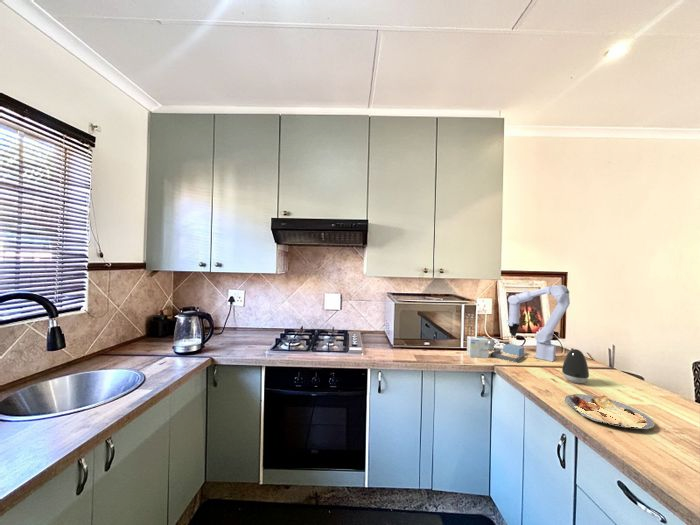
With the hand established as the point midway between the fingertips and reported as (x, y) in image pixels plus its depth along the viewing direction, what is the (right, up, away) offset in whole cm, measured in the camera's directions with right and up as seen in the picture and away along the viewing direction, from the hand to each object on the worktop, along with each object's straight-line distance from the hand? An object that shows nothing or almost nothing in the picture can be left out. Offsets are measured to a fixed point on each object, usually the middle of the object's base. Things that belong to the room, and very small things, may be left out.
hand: (513, 335), depth 194 cm
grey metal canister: (-14, -9, +2) cm, 17 cm away
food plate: (-9, -10, -81) cm, 82 cm away
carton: (-3, -10, -5) cm, 11 cm away
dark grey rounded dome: (+3, -10, -49) cm, 50 cm away
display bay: (-11, -9, -14) cm, 20 cm away
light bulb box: (-28, -9, -14) cm, 33 cm away
